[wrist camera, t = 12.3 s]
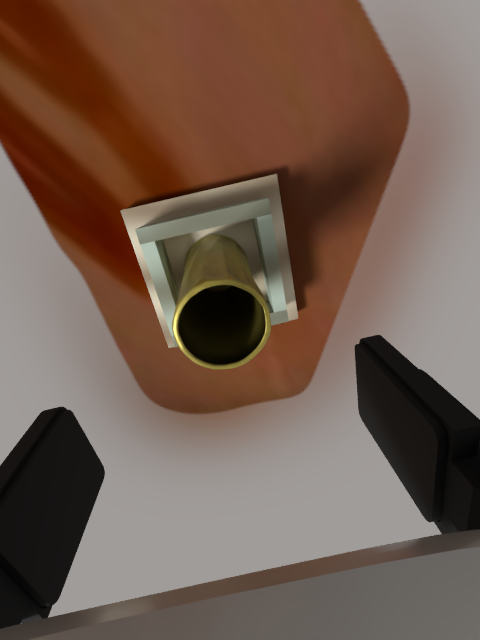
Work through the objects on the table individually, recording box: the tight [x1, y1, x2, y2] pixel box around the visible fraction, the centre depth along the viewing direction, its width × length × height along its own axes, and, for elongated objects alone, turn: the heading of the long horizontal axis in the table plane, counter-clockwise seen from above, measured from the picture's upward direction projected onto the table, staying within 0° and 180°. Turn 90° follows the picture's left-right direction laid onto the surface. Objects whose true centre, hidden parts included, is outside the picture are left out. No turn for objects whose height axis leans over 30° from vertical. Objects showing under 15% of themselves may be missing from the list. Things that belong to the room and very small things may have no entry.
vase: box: [172, 235, 271, 369], centre depth 22 cm, size 6×6×14 cm
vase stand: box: [120, 174, 298, 348], centre depth 28 cm, size 14×14×5 cm
